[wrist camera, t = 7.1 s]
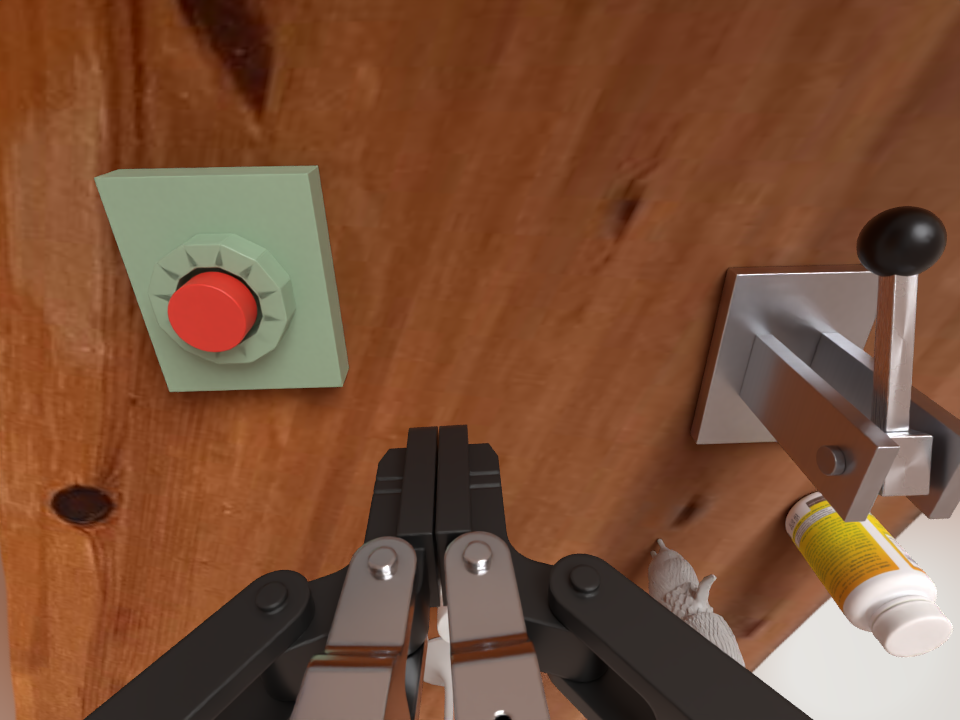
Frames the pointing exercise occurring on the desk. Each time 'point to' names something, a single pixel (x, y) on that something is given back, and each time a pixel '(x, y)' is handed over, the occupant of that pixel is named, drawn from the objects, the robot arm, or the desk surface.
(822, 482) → the lever stand
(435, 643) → the wineglass
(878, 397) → the lever handle
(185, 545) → the desk surface
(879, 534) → the supplement bottle
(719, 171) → the desk surface
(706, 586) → the figurine
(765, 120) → the desk surface
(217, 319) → the red button
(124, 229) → the button block
